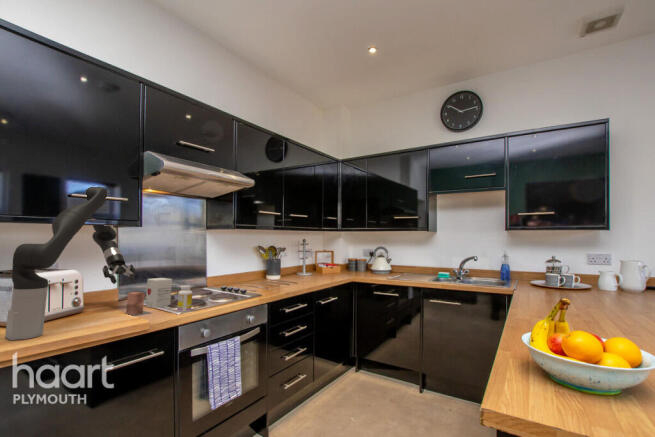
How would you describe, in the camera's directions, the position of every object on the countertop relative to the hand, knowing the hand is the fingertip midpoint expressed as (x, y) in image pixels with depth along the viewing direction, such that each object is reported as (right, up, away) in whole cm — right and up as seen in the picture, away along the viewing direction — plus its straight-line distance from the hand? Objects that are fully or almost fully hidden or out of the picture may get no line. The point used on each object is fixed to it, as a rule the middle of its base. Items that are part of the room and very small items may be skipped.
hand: (124, 282), depth 157 cm
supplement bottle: (+28, -16, +4) cm, 33 cm away
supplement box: (+9, -16, +14) cm, 23 cm away
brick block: (+9, -14, -7) cm, 18 cm away
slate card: (+9, -14, -7) cm, 18 cm away
